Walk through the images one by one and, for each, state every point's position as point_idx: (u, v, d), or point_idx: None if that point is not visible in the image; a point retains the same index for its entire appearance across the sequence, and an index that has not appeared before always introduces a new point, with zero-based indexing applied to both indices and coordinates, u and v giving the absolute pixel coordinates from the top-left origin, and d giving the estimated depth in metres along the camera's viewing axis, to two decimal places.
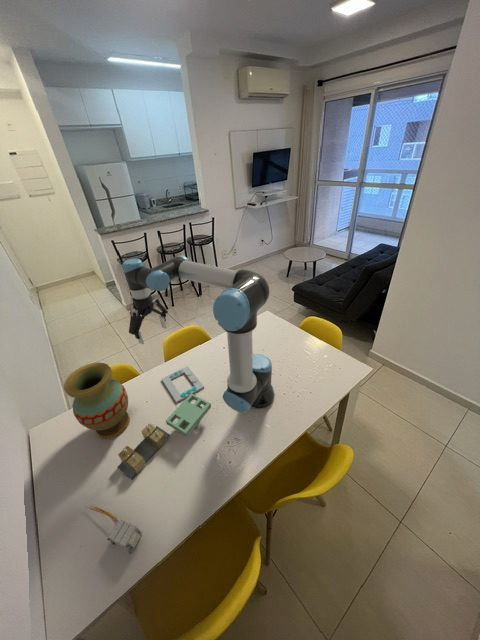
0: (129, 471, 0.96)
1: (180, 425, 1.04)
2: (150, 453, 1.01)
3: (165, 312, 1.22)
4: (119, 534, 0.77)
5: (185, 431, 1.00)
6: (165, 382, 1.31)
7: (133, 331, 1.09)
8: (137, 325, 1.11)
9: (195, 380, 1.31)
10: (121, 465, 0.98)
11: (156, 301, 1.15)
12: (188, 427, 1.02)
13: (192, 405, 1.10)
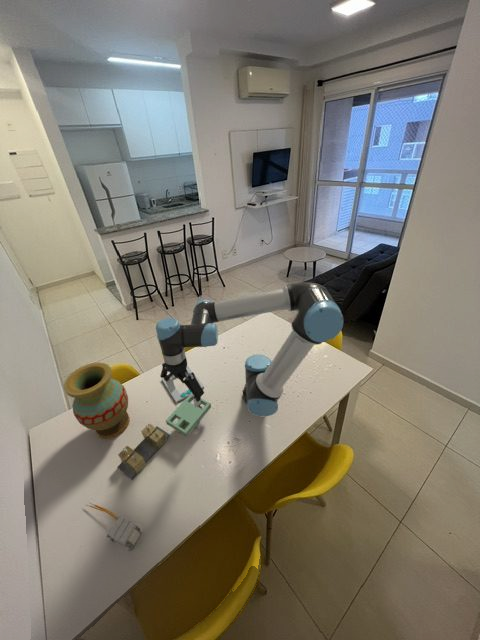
0: (129, 471, 0.96)
1: (180, 425, 1.04)
2: (150, 453, 1.01)
3: (197, 395, 0.93)
4: (119, 531, 0.78)
5: (185, 431, 1.00)
6: (165, 382, 1.31)
7: (161, 375, 1.01)
8: (167, 375, 1.00)
9: None
10: (121, 465, 0.98)
11: (187, 377, 0.90)
12: (188, 427, 1.02)
13: (192, 405, 1.10)
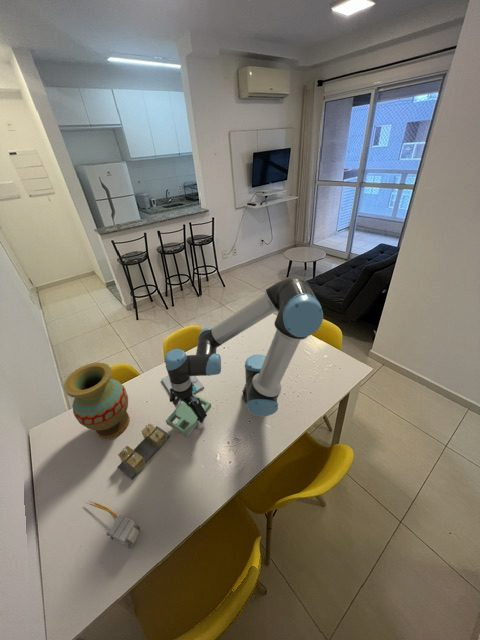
0: (129, 471, 0.96)
1: (180, 425, 1.04)
2: (150, 453, 1.01)
3: (200, 417, 1.02)
4: (118, 530, 0.78)
5: (185, 431, 1.01)
6: (165, 382, 1.31)
7: (170, 399, 1.09)
8: (175, 399, 1.07)
9: (195, 380, 1.31)
10: (121, 465, 0.98)
11: (193, 402, 0.98)
12: (188, 427, 1.02)
13: None
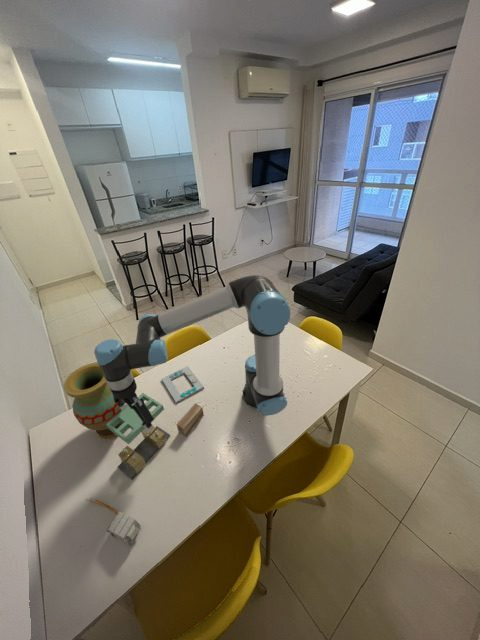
0: (129, 471, 0.96)
1: (123, 430, 0.88)
2: (150, 453, 1.01)
3: (145, 422, 0.86)
4: (118, 526, 0.79)
5: (126, 438, 0.85)
6: (165, 382, 1.31)
7: (114, 400, 0.93)
8: None
9: (195, 380, 1.31)
10: (121, 465, 0.98)
11: (135, 403, 0.82)
12: (131, 433, 0.86)
13: None
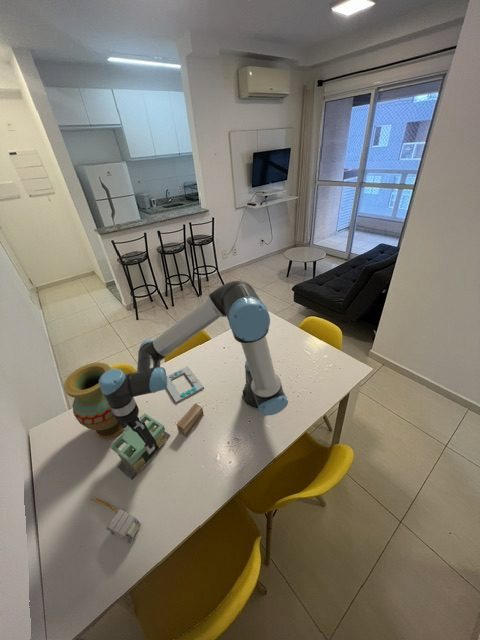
0: (129, 471, 0.96)
1: (126, 451, 0.93)
2: (150, 453, 1.01)
3: (147, 444, 0.91)
4: (118, 524, 0.79)
5: (130, 459, 0.90)
6: None
7: (118, 422, 0.98)
8: None
9: (195, 380, 1.31)
10: (121, 465, 0.98)
11: (137, 427, 0.87)
12: (134, 454, 0.91)
13: None
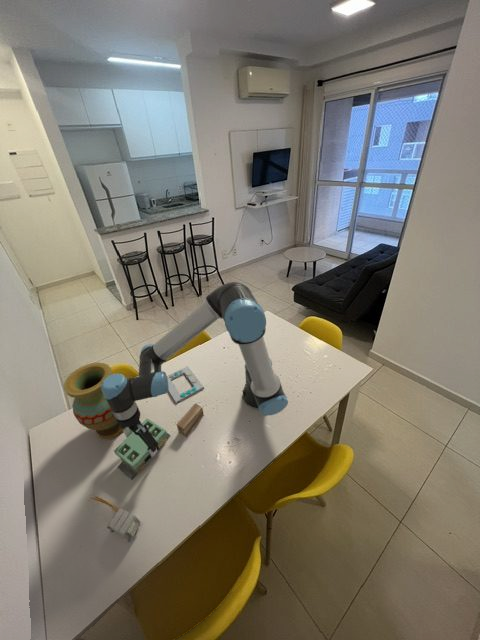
0: (129, 471, 0.96)
1: (129, 456, 0.95)
2: None
3: (150, 447, 0.91)
4: (118, 523, 0.80)
5: (133, 464, 0.91)
6: None
7: (118, 423, 0.99)
8: None
9: (195, 380, 1.31)
10: (121, 465, 0.98)
11: (139, 430, 0.88)
12: (137, 459, 0.93)
13: None
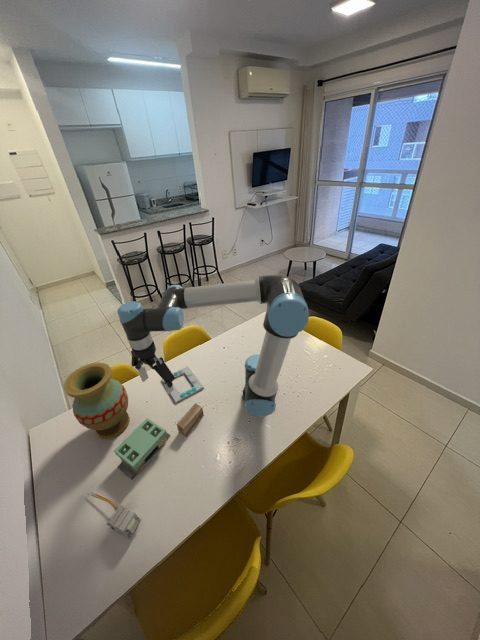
0: (129, 471, 0.96)
1: (129, 456, 0.95)
2: (150, 453, 1.01)
3: (167, 380, 0.92)
4: (118, 520, 0.80)
5: (133, 464, 0.91)
6: None
7: (132, 364, 0.99)
8: (138, 363, 0.98)
9: (195, 380, 1.31)
10: (121, 465, 0.98)
11: None
12: (137, 459, 0.93)
13: (145, 432, 1.01)
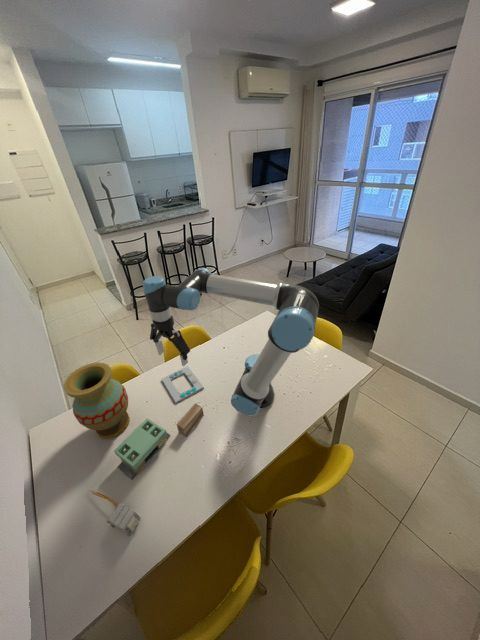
0: (129, 471, 0.96)
1: (129, 456, 0.95)
2: (150, 453, 1.01)
3: (183, 352, 0.99)
4: (118, 518, 0.81)
5: (133, 464, 0.91)
6: (165, 382, 1.31)
7: (150, 337, 1.07)
8: (156, 336, 1.05)
9: (195, 380, 1.31)
10: (121, 465, 0.98)
11: (174, 334, 0.96)
12: (137, 459, 0.93)
13: (145, 432, 1.01)
